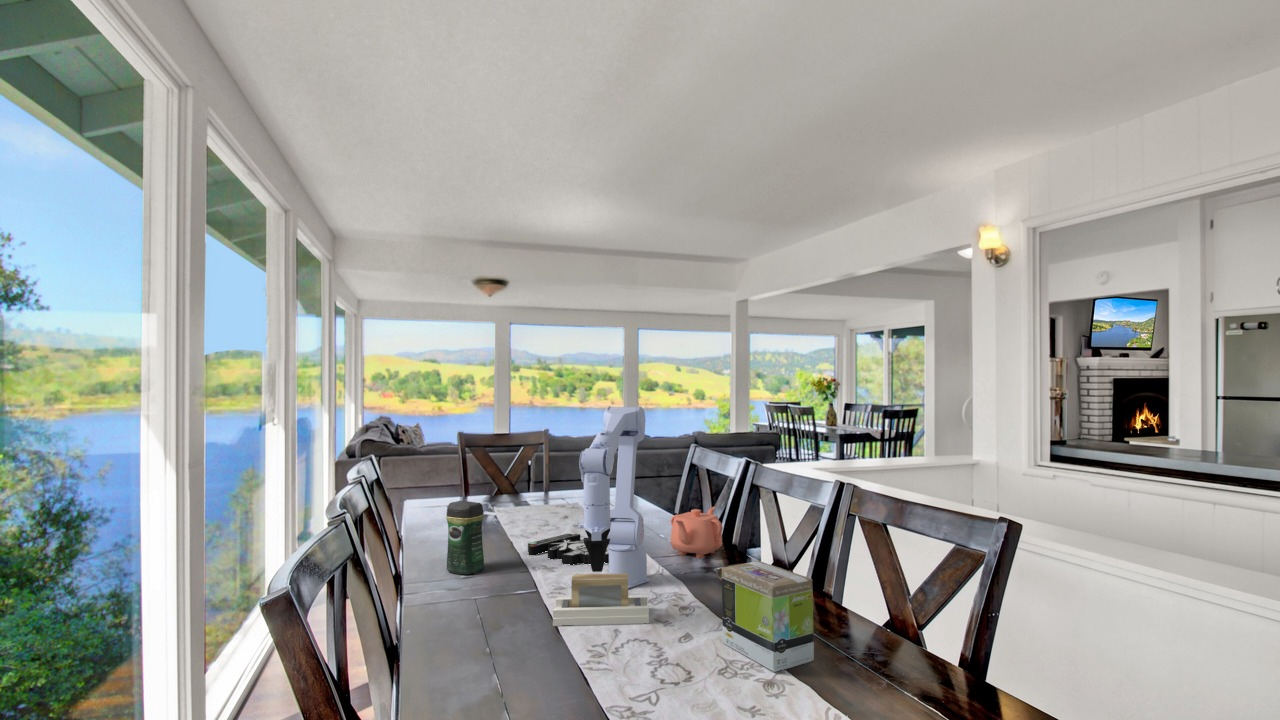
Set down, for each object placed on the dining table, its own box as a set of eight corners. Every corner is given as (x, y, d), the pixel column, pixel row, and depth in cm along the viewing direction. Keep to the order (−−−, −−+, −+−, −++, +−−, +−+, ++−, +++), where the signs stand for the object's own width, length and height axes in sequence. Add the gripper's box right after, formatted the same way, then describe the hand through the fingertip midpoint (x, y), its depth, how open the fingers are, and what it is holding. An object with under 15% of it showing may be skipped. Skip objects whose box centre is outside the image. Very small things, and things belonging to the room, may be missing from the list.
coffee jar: (489, 569, 173) (488, 500, 173) (468, 577, 166) (467, 505, 166) (462, 564, 177) (462, 497, 178) (441, 572, 170) (441, 502, 171)
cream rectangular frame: (647, 607, 142) (646, 594, 142) (649, 623, 133) (649, 608, 133) (556, 610, 141) (556, 596, 141) (552, 626, 132) (552, 611, 132)
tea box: (816, 661, 114) (814, 578, 115) (773, 674, 109) (771, 587, 110) (761, 632, 127) (759, 558, 128) (720, 643, 122) (719, 566, 123)
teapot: (715, 545, 195) (714, 503, 195) (729, 560, 178) (728, 514, 179) (667, 547, 193) (666, 505, 193) (676, 562, 176) (675, 516, 177)
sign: (571, 532, 202) (640, 548, 182) (571, 542, 202) (641, 559, 182) (522, 544, 188) (591, 563, 168) (522, 554, 188) (591, 574, 168)
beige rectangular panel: (573, 606, 139) (572, 574, 139) (628, 605, 139) (627, 573, 139) (571, 613, 135) (571, 580, 135) (628, 612, 135) (628, 579, 135)
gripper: (580, 497, 146) (580, 557, 146) (576, 510, 132) (577, 576, 131) (611, 496, 147) (611, 556, 146) (610, 509, 132) (611, 575, 132)
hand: (597, 566), depth 139 cm, fingers open, 7 cm apart
